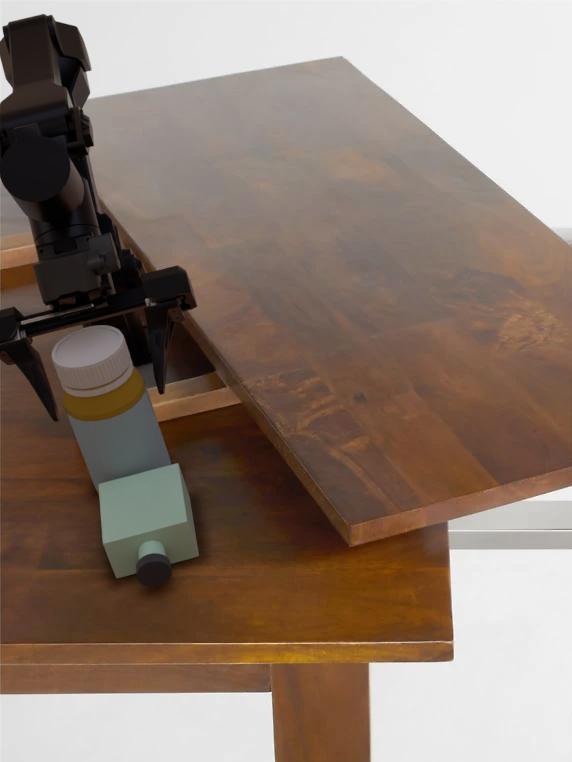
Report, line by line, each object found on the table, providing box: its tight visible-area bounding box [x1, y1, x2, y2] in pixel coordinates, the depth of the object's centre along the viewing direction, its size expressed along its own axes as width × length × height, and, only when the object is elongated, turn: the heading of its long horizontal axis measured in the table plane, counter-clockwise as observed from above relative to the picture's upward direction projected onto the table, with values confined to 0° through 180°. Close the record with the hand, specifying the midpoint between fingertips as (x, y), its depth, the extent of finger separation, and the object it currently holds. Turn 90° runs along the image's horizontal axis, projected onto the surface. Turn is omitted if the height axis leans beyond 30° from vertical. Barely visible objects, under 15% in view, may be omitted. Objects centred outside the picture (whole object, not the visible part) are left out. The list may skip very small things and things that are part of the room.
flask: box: [98, 462, 200, 588], centre depth 115 cm, size 11×7×4 cm, turn 12°
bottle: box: [51, 325, 172, 495], centre depth 120 cm, size 7×7×15 cm
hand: (109, 407), depth 119 cm, fingers open, 9 cm apart
